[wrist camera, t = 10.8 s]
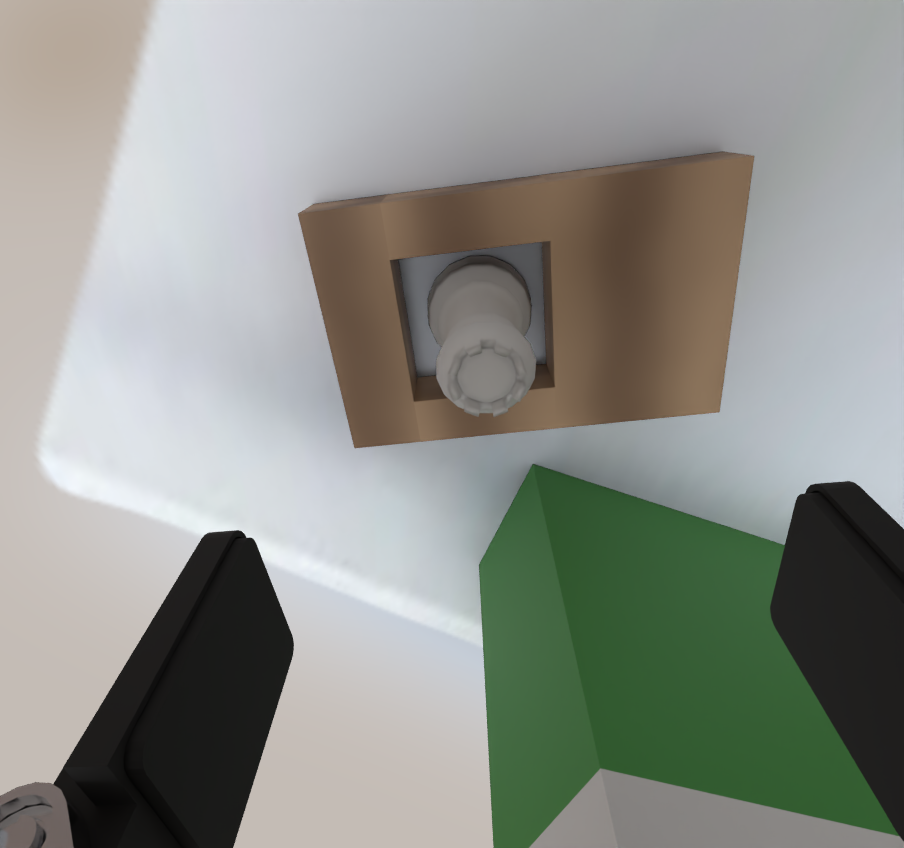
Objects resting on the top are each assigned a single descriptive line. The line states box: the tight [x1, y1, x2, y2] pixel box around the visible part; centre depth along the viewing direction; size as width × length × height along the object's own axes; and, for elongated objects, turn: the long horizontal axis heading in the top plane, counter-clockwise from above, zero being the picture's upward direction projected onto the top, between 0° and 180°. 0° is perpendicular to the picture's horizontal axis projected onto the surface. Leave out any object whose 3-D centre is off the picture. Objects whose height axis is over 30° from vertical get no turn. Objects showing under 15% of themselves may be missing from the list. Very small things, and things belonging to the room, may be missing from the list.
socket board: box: [298, 152, 754, 448], centre depth 23 cm, size 16×10×2 cm, turn 97°
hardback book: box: [479, 464, 904, 848], centre depth 21 cm, size 18×7×24 cm, turn 70°
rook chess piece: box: [428, 256, 536, 417], centre depth 20 cm, size 4×4×8 cm
